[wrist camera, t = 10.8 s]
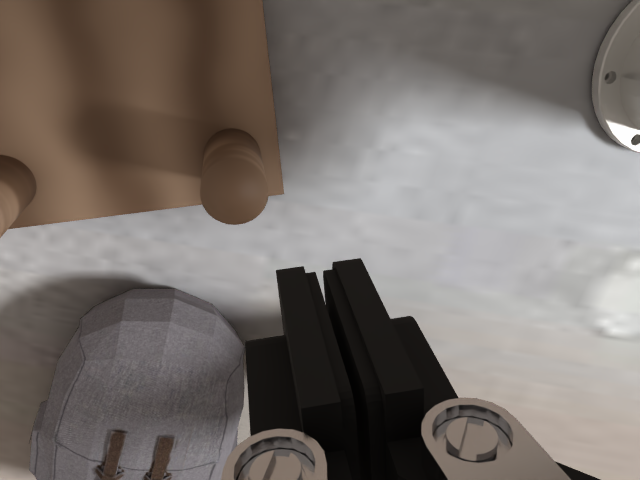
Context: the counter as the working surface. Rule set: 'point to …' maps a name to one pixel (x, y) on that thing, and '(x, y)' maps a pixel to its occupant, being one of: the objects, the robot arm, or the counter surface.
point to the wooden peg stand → (134, 109)
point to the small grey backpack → (143, 393)
